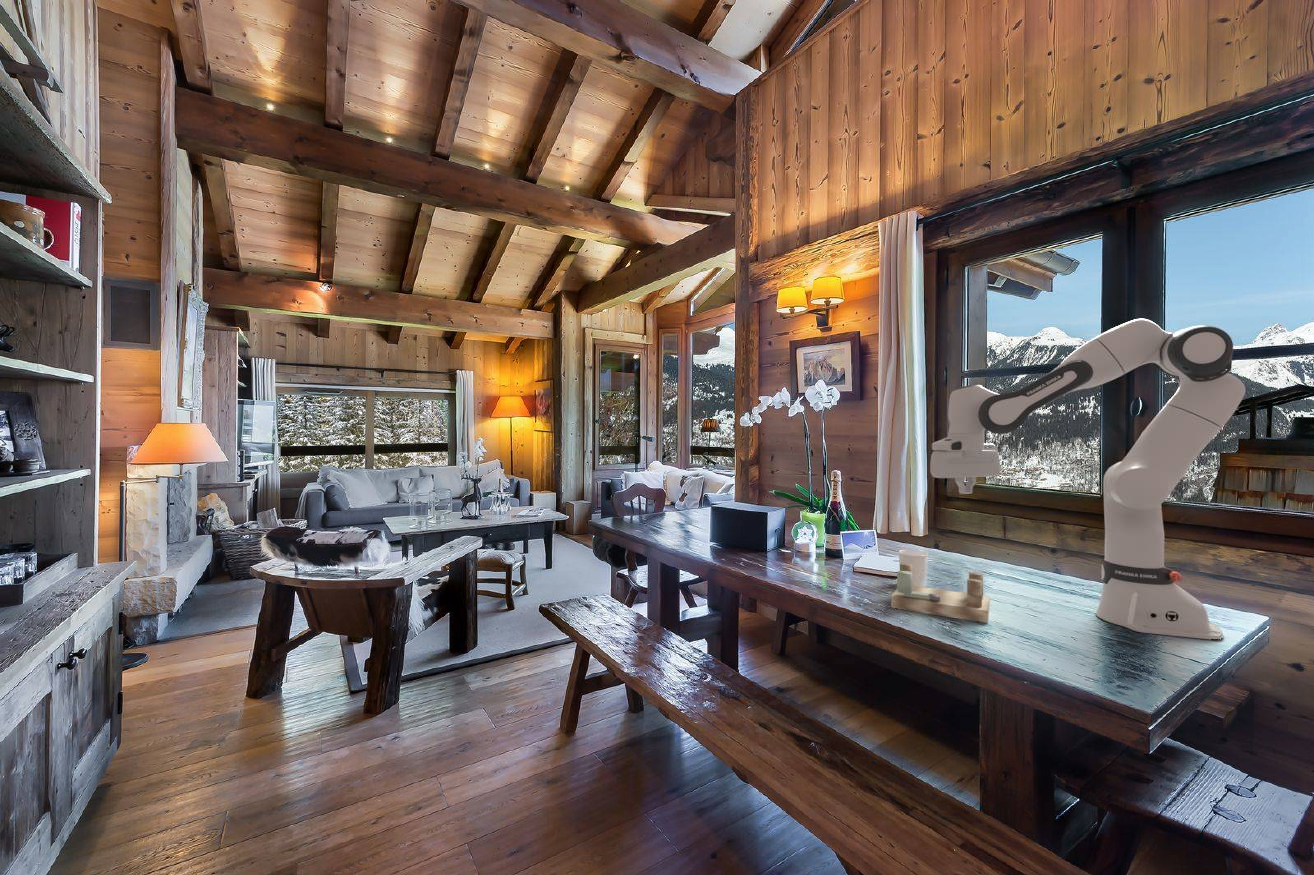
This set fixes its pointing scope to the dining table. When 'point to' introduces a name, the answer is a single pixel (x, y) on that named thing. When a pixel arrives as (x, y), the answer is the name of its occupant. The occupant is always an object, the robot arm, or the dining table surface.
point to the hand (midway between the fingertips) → (965, 493)
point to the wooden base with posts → (947, 600)
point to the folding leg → (906, 587)
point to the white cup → (915, 565)
